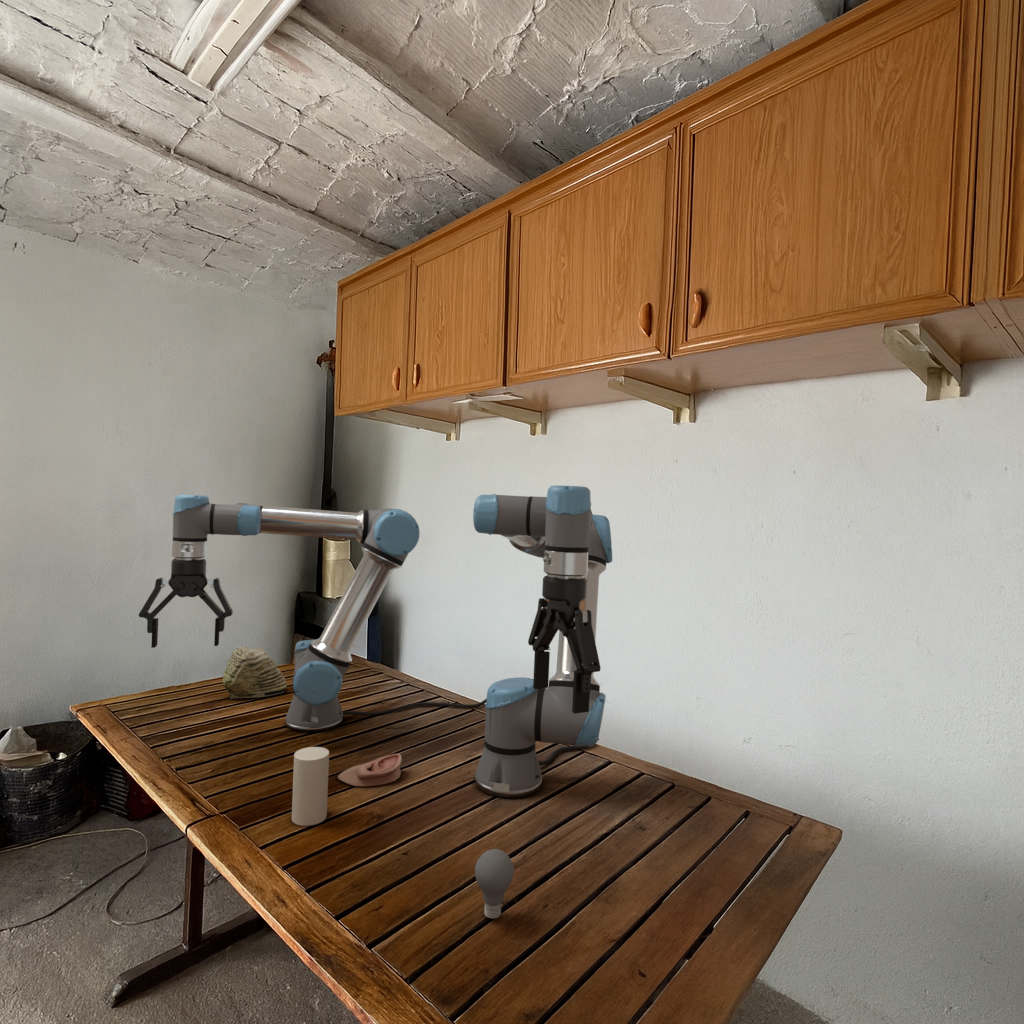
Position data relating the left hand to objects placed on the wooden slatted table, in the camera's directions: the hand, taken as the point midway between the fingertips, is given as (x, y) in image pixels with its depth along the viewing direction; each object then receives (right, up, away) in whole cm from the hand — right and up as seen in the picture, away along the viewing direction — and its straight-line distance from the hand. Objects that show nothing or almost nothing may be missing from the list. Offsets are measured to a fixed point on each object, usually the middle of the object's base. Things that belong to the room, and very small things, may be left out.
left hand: (185, 645), depth 154 cm
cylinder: (+39, -28, -29) cm, 56 cm away
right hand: (+87, 0, -45) cm, 98 cm away
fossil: (-1, -25, +44) cm, 51 cm away
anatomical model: (+47, -28, -10) cm, 55 cm away
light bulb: (+76, -30, -56) cm, 99 cm away
